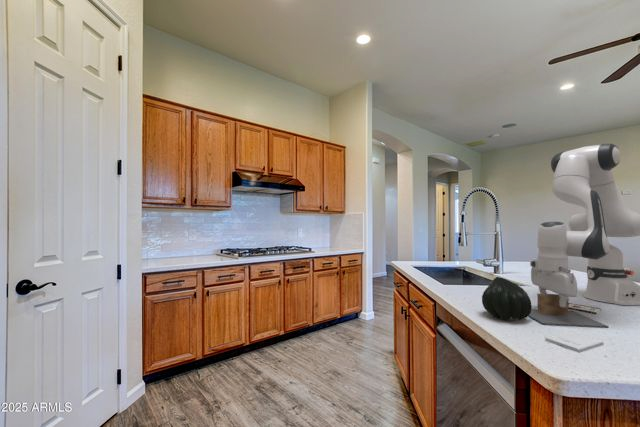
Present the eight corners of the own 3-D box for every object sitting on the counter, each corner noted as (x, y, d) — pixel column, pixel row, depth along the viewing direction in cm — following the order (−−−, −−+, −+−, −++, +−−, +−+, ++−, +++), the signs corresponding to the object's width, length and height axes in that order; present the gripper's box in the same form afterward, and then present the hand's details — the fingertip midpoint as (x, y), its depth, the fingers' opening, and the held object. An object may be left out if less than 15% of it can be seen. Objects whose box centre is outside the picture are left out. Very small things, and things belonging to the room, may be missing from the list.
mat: (572, 312, 111) (572, 310, 111) (608, 328, 95) (608, 326, 95) (516, 309, 113) (516, 308, 113) (542, 324, 97) (542, 323, 97)
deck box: (563, 313, 108) (563, 294, 108) (568, 315, 105) (568, 296, 105) (537, 312, 109) (537, 293, 109) (541, 314, 106) (541, 295, 106)
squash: (546, 311, 94) (525, 271, 105) (499, 312, 95) (482, 272, 105) (526, 328, 105) (508, 290, 115) (484, 328, 106) (470, 291, 116)
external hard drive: (603, 347, 82) (578, 354, 77) (569, 336, 90) (544, 342, 85) (603, 341, 82) (578, 348, 77) (569, 330, 90) (544, 336, 85)
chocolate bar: (544, 298, 128) (600, 308, 114) (544, 300, 128) (600, 311, 114) (538, 301, 123) (595, 313, 108) (538, 304, 123) (595, 315, 108)
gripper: (583, 270, 97) (584, 312, 96) (544, 261, 117) (544, 295, 117) (562, 270, 97) (563, 311, 97) (527, 261, 118) (527, 295, 117)
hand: (552, 302), depth 107 cm, fingers open, 8 cm apart
